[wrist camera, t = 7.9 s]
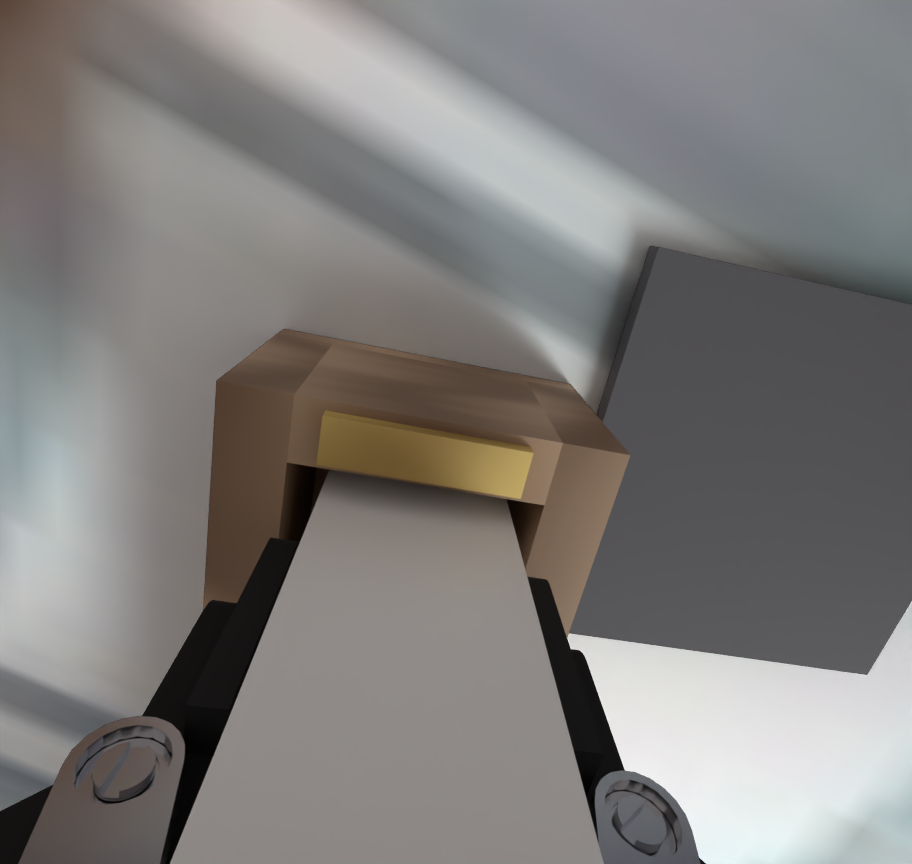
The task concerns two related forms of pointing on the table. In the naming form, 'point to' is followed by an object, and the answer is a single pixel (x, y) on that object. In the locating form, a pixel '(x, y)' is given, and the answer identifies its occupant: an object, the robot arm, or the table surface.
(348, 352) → the socket block
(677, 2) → the table surface
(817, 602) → the mat
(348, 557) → the plug
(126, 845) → the robot arm
